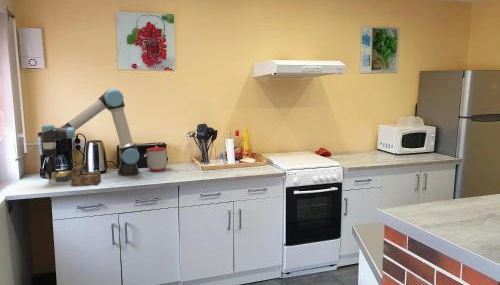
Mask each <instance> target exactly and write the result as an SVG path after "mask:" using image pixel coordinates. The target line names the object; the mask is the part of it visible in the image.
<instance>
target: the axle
mask: <svg viewBox="0 0 500 285" xmlns="http://www.w3.org/2000/svg"><path fill="white" fill-rule="evenodd" d="M52 174H53V178H60V177H71V176H72V170H71V171H61V172H59V171H56V172H52ZM45 178H46V179H48V174H47V173H46V172H45Z"/></svg>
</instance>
